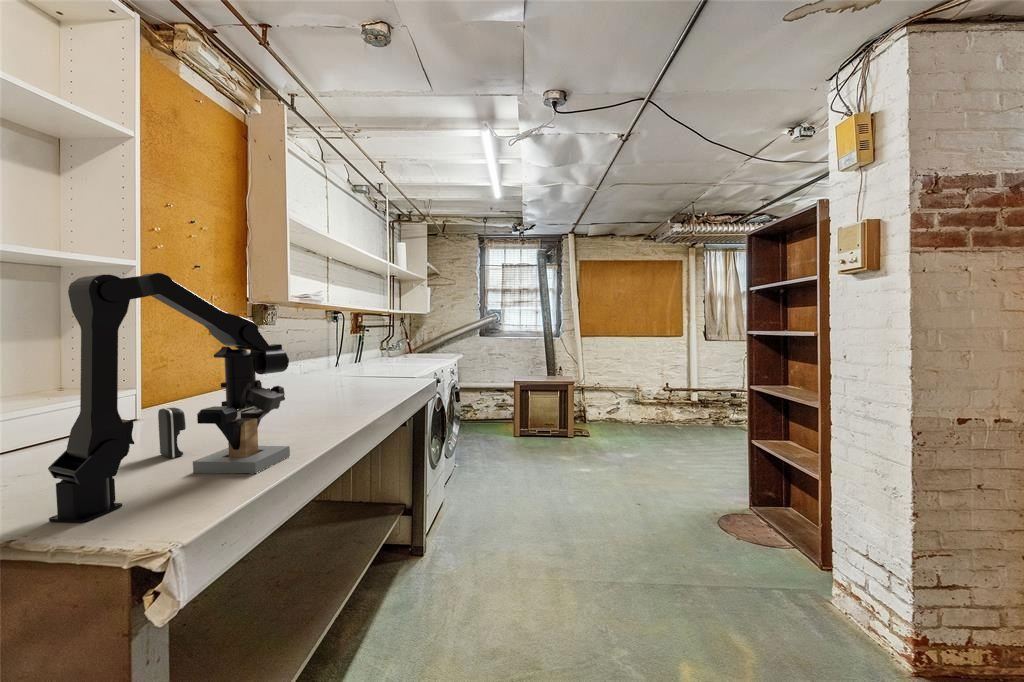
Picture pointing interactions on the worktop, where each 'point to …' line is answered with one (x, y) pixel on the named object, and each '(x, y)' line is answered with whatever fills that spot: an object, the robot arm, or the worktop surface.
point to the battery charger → (170, 430)
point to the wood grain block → (246, 440)
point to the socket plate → (241, 461)
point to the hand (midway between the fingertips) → (243, 446)
